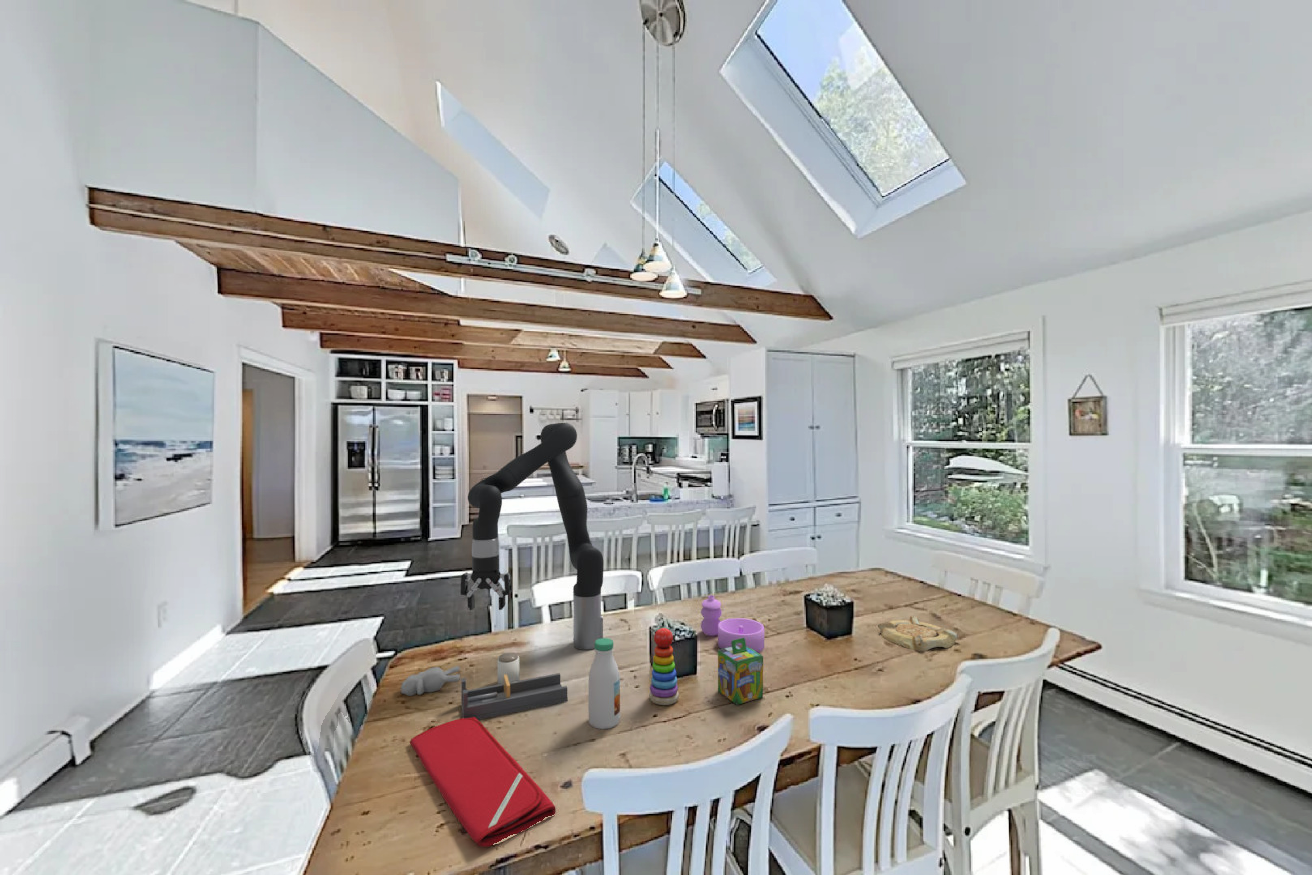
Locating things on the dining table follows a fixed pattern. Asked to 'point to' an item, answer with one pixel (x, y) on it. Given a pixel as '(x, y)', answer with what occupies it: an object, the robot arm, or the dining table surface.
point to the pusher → (494, 695)
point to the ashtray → (917, 634)
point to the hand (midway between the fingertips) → (486, 609)
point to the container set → (730, 627)
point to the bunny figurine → (428, 681)
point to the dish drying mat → (481, 781)
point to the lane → (514, 697)
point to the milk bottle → (604, 687)
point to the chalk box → (740, 673)
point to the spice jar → (508, 667)
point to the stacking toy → (663, 670)
